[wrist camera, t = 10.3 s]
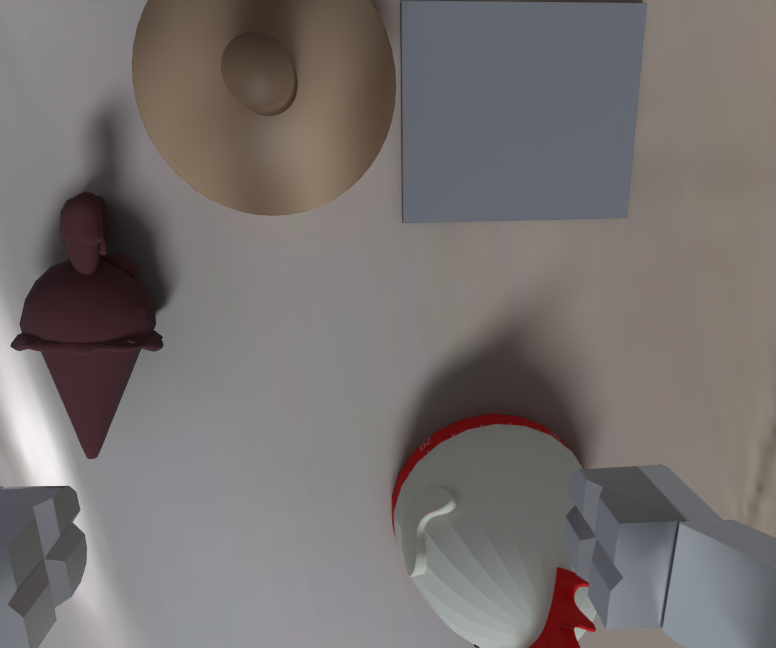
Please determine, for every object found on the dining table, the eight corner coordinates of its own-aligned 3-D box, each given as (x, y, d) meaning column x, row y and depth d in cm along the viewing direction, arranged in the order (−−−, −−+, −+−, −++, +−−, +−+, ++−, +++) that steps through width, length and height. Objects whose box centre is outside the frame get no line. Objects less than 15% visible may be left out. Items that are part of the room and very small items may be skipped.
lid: (394, -50, 26) (406, -98, 21) (393, 213, 29) (403, 220, 24) (126, -59, 25) (78, -112, 20) (154, 214, 28) (119, 222, 23)
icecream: (159, 480, 30) (164, 198, 28) (-2, 491, 28) (-12, 181, 25) (162, 433, 37) (167, 201, 34) (32, 439, 34) (26, 188, 32)
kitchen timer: (361, 554, 40) (375, 767, 26) (439, 386, 37) (504, 519, 23) (530, 605, 43) (629, 826, 28) (615, 451, 40) (773, 609, 25)
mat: (641, 6, 32) (647, 3, 32) (621, 217, 35) (626, 217, 35) (400, 3, 31) (401, 0, 31) (402, 222, 34) (403, 223, 34)
